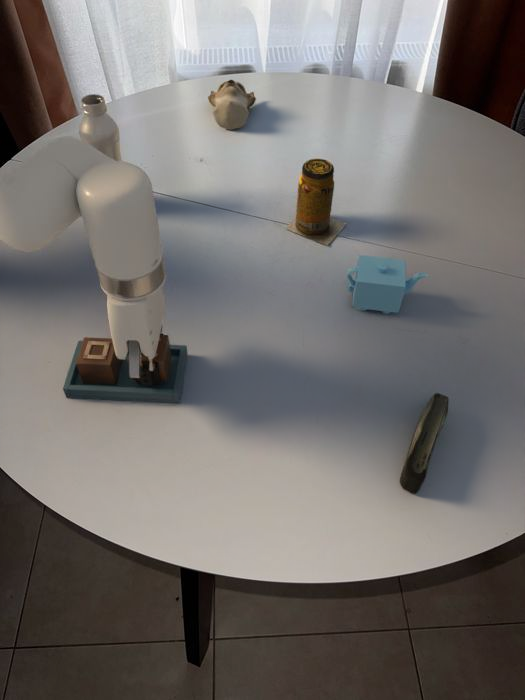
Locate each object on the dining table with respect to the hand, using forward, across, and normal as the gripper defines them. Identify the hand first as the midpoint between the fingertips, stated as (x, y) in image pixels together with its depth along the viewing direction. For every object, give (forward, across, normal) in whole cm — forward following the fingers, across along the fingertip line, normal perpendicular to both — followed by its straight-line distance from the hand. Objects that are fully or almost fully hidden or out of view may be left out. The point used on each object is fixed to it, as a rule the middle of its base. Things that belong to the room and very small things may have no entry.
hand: (151, 366), depth 80 cm
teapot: (+3, -17, +33) cm, 38 cm away
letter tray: (+2, 0, -4) cm, 4 cm away
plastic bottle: (+2, -39, -14) cm, 41 cm away
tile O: (+2, 0, -7) cm, 7 cm away
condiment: (+3, -35, +23) cm, 42 cm away
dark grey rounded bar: (+3, +9, +37) cm, 38 cm away
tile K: (0, 0, 0) cm, 0 cm away
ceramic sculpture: (+2, -72, +5) cm, 72 cm away
